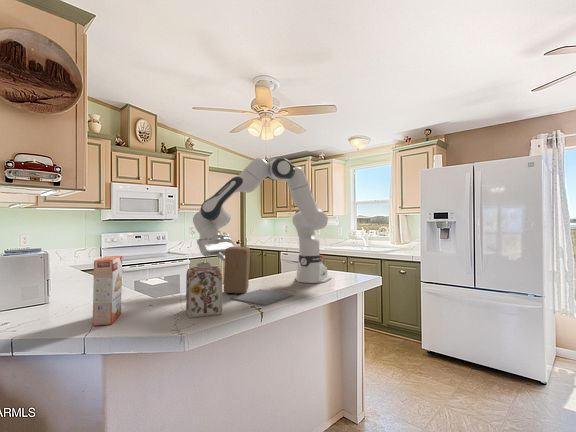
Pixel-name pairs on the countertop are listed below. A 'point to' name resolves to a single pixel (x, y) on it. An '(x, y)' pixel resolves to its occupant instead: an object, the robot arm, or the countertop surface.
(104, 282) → the cracker box
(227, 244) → the robot arm
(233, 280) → the wooden block
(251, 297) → the charcoal rubber mat
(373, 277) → the countertop surface
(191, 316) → the decorative jar
